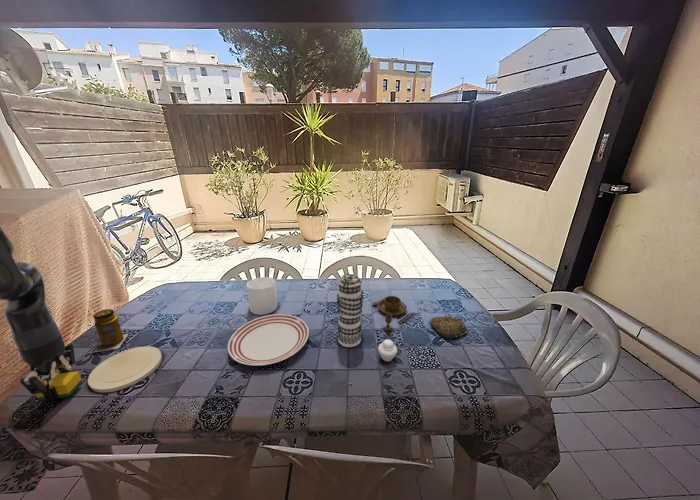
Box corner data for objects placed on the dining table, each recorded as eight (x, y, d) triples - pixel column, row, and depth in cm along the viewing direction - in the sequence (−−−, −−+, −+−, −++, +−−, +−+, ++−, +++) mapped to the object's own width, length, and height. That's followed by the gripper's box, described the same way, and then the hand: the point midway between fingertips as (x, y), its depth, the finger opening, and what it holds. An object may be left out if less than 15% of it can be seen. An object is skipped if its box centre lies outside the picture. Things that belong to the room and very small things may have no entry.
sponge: (38, 400, 72) (33, 389, 71) (53, 386, 77) (48, 374, 75) (69, 396, 73) (65, 384, 72) (82, 382, 78) (78, 371, 77)
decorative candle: (367, 342, 97) (369, 279, 89) (345, 351, 92) (345, 285, 84) (353, 328, 104) (354, 269, 96) (332, 336, 100) (331, 275, 91)
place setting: (417, 312, 115) (418, 300, 113) (389, 333, 102) (390, 319, 100) (384, 297, 127) (385, 286, 125) (355, 315, 113) (355, 302, 111)
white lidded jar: (398, 354, 91) (399, 337, 89) (394, 367, 86) (395, 349, 83) (380, 349, 93) (381, 332, 91) (375, 361, 88) (376, 344, 85)
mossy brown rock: (442, 341, 98) (443, 329, 96) (426, 321, 109) (427, 310, 107) (473, 336, 100) (476, 325, 98) (455, 317, 111) (457, 307, 110)
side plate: (72, 397, 75) (71, 394, 74) (111, 353, 91) (110, 350, 91) (146, 386, 78) (145, 383, 78) (170, 345, 95) (170, 342, 94)
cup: (246, 305, 120) (243, 281, 116) (272, 298, 126) (270, 274, 122) (254, 318, 111) (250, 292, 107) (281, 309, 117) (279, 284, 113)
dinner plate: (236, 385, 79) (234, 376, 77) (223, 334, 101) (222, 327, 100) (322, 352, 92) (321, 344, 91) (294, 313, 114) (293, 306, 113)
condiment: (128, 333, 101) (119, 305, 97) (119, 348, 93) (109, 318, 89) (104, 338, 99) (94, 309, 94) (93, 353, 91) (81, 323, 87)
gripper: (44, 324, 75) (64, 373, 81) (-8, 360, 62) (21, 415, 68) (76, 321, 77) (94, 369, 82) (32, 355, 64) (57, 410, 69)
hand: (61, 389), depth 75 cm, fingers closed on sponge, 5 cm apart
